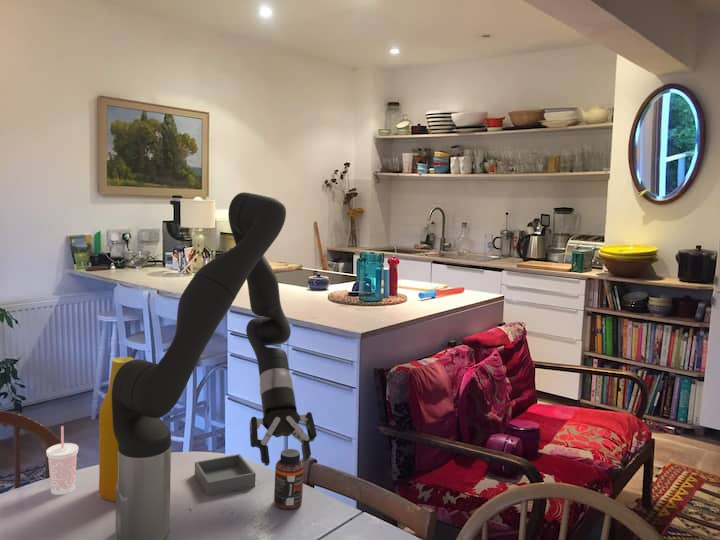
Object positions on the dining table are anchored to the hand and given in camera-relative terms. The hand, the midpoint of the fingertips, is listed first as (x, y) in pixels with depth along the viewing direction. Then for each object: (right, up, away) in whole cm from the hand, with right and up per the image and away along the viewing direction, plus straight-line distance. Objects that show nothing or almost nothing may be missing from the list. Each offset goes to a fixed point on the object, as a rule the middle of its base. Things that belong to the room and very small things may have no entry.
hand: (287, 462), depth 127 cm
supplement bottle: (0, -9, -1) cm, 9 cm away
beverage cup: (-48, -6, 0) cm, 48 cm away
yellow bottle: (-35, -6, 0) cm, 36 cm away
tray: (-15, -6, +7) cm, 18 cm away
